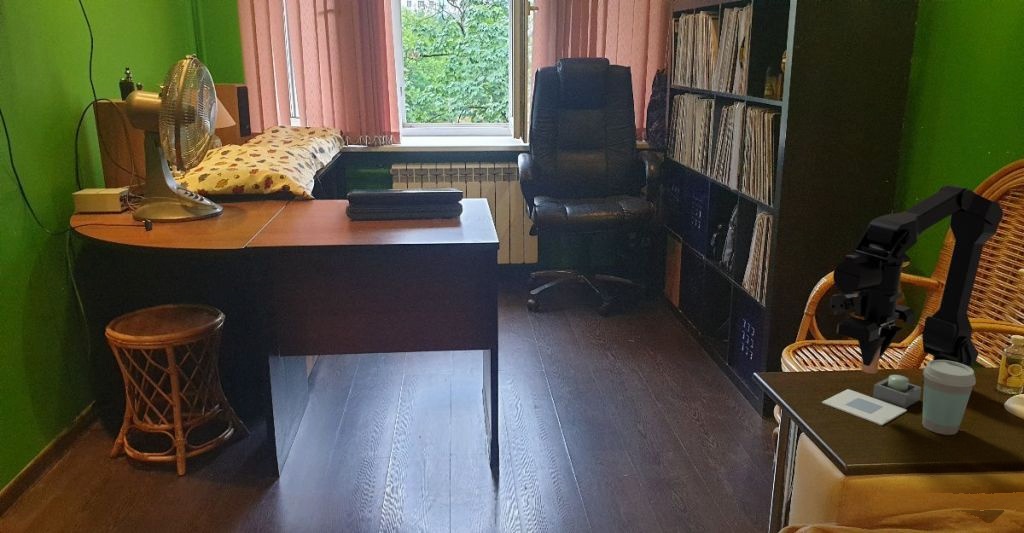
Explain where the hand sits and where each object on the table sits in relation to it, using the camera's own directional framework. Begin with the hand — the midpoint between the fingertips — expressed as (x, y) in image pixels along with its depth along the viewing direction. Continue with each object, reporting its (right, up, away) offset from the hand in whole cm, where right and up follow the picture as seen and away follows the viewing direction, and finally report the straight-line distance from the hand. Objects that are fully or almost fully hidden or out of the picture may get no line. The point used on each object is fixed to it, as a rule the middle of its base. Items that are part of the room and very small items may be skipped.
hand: (870, 363), depth 148 cm
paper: (0, -9, +2) cm, 9 cm away
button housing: (+8, -8, +6) cm, 13 cm away
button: (+8, -6, +6) cm, 12 cm away
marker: (0, -1, 0) cm, 2 cm away
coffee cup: (+10, -11, -5) cm, 16 cm away
